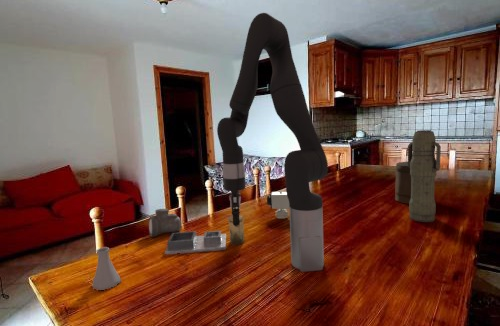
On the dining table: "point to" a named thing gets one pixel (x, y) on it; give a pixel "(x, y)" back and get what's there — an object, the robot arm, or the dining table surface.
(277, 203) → the pneumatic valve
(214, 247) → the plate
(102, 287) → the flask
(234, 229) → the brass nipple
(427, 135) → the thermos
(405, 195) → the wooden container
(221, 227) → the dining table surface
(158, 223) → the pipe fitting
